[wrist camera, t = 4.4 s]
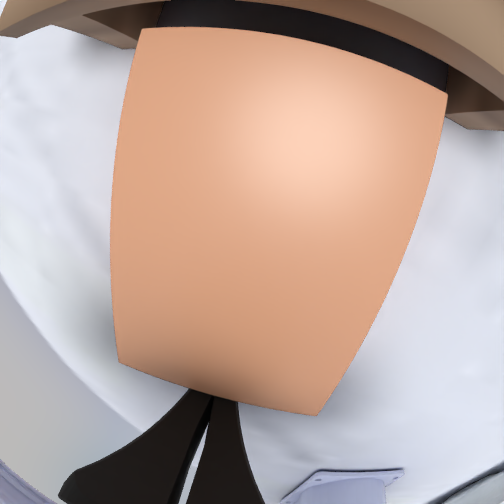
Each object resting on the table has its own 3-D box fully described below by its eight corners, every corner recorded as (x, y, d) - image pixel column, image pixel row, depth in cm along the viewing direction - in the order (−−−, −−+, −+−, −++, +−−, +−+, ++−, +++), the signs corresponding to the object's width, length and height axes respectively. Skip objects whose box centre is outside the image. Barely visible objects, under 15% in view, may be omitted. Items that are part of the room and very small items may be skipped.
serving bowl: (386, 517, 23) (388, 551, 17) (506, 450, 15) (519, 490, 9) (447, 508, 25) (450, 533, 18) (534, 450, 16) (544, 476, 10)
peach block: (314, 358, 11) (316, 416, 8) (151, 316, 11) (118, 362, 8) (401, 105, 7) (447, 94, 4) (185, 57, 7) (142, 28, 5)
